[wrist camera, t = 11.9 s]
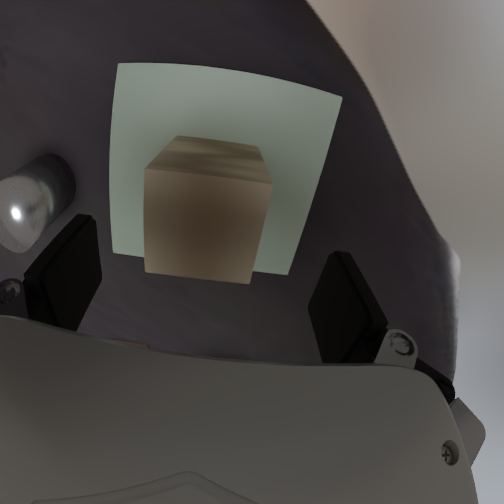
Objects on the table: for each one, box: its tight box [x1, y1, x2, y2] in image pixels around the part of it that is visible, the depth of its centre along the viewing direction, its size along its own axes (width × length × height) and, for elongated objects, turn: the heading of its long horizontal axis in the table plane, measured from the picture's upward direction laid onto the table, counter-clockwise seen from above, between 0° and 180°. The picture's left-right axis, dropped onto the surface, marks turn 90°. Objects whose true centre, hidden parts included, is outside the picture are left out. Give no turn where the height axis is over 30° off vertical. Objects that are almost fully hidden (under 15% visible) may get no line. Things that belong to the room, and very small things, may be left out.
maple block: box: [143, 136, 273, 284], centre depth 14 cm, size 5×5×7 cm
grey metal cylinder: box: [0, 154, 76, 253], centre depth 14 cm, size 5×5×6 cm
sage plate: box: [109, 63, 343, 275], centre depth 18 cm, size 14×14×1 cm
